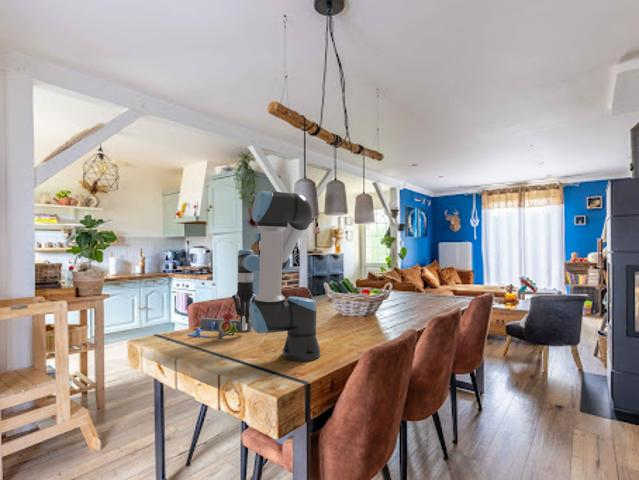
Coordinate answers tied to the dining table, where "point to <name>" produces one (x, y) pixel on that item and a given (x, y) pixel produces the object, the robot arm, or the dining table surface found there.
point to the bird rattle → (225, 326)
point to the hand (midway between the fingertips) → (244, 329)
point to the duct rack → (214, 325)
